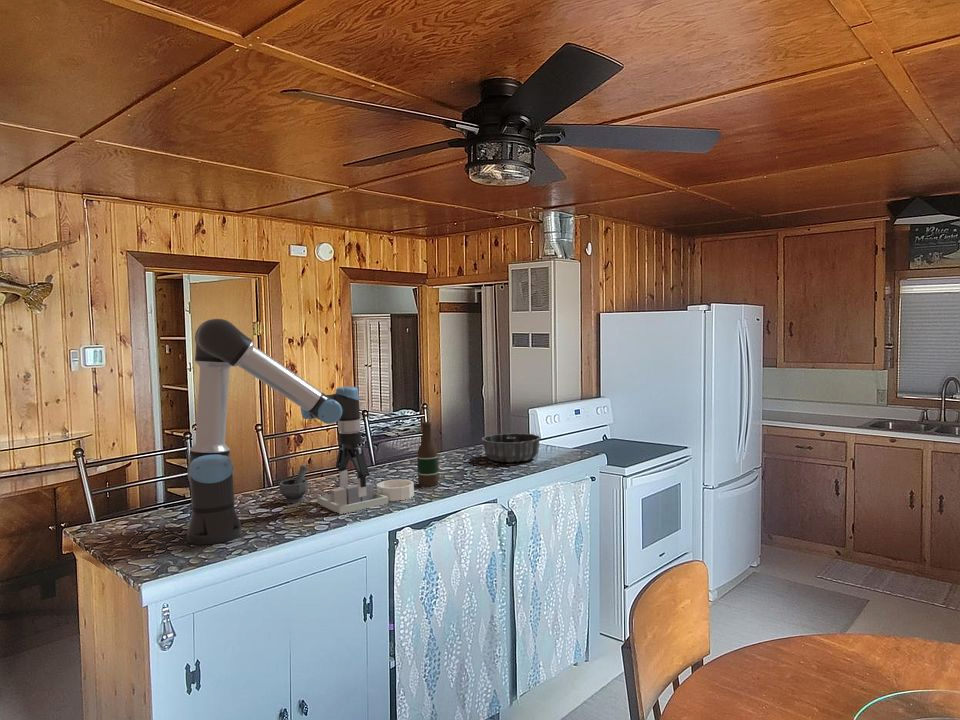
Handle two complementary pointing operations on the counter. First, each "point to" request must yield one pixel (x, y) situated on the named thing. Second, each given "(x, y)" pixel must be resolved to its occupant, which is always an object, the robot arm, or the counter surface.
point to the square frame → (377, 501)
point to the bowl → (396, 489)
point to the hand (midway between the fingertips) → (353, 492)
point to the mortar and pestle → (295, 487)
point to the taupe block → (338, 496)
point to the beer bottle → (427, 458)
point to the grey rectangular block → (352, 494)
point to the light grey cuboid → (368, 492)
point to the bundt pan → (511, 447)
